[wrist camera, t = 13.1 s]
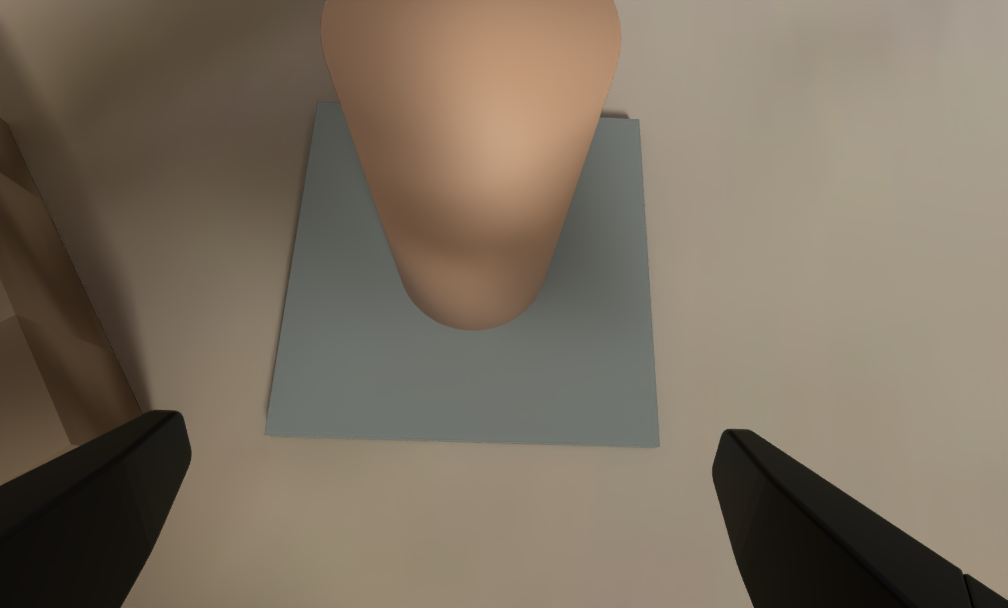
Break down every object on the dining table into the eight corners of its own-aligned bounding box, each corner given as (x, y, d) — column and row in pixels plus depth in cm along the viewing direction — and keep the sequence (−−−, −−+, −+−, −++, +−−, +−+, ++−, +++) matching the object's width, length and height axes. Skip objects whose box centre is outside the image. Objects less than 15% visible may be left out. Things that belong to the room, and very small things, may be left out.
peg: (575, 280, 19) (681, 66, 9) (449, 359, 18) (420, 207, 8) (494, 170, 20) (513, -120, 10) (371, 238, 19) (267, -18, 9)
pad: (653, 447, 18) (659, 446, 17) (271, 436, 17) (264, 434, 17) (634, 129, 21) (639, 119, 21) (321, 112, 21) (317, 101, 20)
